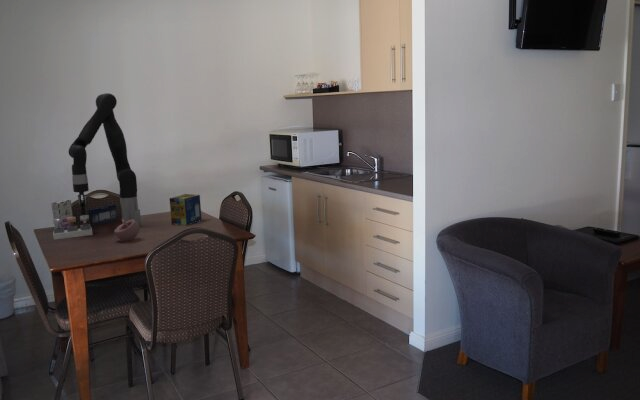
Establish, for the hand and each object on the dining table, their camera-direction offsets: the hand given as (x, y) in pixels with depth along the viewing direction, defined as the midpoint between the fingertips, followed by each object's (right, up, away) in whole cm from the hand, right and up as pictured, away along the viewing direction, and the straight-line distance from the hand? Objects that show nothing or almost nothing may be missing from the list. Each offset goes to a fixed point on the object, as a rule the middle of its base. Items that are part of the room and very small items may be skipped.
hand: (83, 214), depth 300 cm
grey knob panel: (-5, -11, -1) cm, 13 cm away
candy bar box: (-19, -9, +19) cm, 28 cm away
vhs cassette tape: (-1, -6, +32) cm, 32 cm away
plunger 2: (0, -5, +1) cm, 5 cm away
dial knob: (-5, -6, -2) cm, 8 cm away
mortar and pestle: (+30, -13, -18) cm, 37 cm away
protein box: (+50, -5, +23) cm, 56 cm away
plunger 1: (-11, -6, -4) cm, 14 cm away
